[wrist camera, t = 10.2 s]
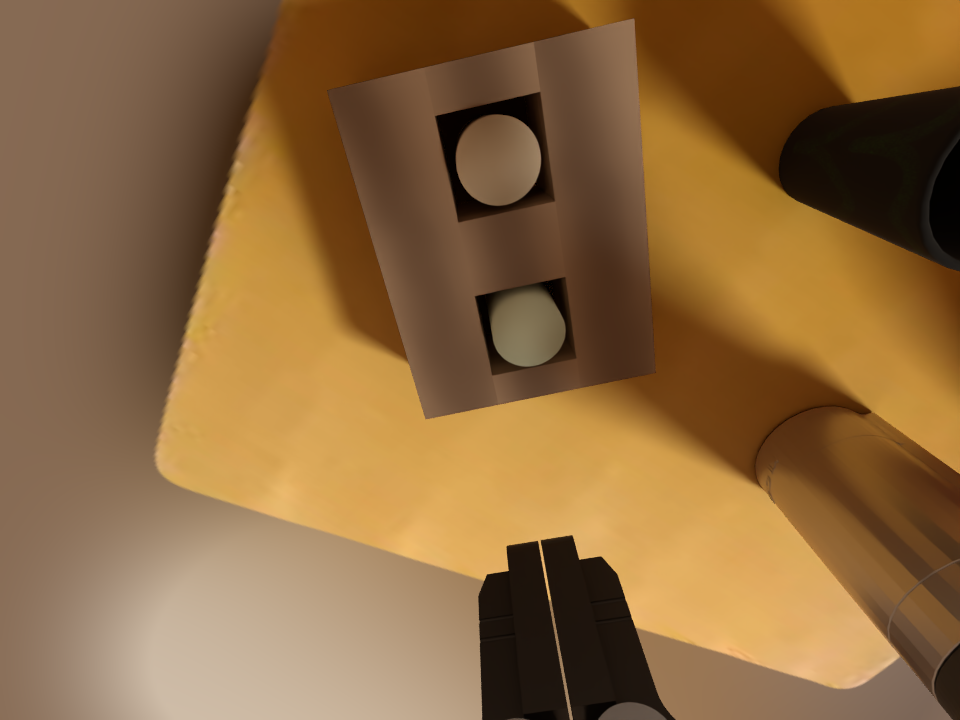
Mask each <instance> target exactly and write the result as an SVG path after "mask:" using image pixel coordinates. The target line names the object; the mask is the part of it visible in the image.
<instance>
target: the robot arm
mask: <svg viewBox="0 0 960 720" xmlns="http://www.w3.org/2000/svg"><path fill="white" fill-rule="evenodd" d="M755 470H756V477H757V479H758V482H759V484H760V485H761V487H762V488H763V489H764V490H765V491H766V493H767V494H768V495H769V497H770V499H771V500H772V501H773V502H774V504H776V505H777V506H778V508H779V509H780V510H781V511H782V512H783V514H784V515H785V516H786V517H787V519H788V520H789V521H790V523H791V524H792V525H793V526H794V527H795V529H796V530H797V531H798V532H799V534H800V535H801V536H802V537H803V538H804V540H805V541H806V542H807V543H808V544H809V546H810V547H811V548H812V549H813V551H814V552H815V553H816V554H817V555H818V557H819V558H820V559H821V560H822V562H823V563H824V564H825V565H826V566H827V568H828V569H829V570H830V571H831V572H832V574H833V575H834V576H835V577H836V579H837V580H838V581H839V582H840V583H841V585H842V586H843V587H844V588H845V590H846V591H847V592H848V593H849V594H850V596H851V597H852V598H853V599H854V601H855V602H856V603H857V604H858V605H859V607H860V608H861V609H862V610H863V611H864V613H865V614H866V615H867V616H868V618H869V619H870V620H871V621H872V622H873V624H874V625H875V626H876V627H877V629H878V630H879V631H880V632H881V633H882V635H883V636H884V637H885V638H886V639H887V641H888V642H889V643H890V644H891V646H892V647H893V648H894V649H895V650H896V651H897V653H898V654H899V655H900V656H901V658H902V659H903V660H904V661H905V662H906V664H907V665H908V666H909V667H910V668H911V670H912V671H913V672H914V673H915V675H916V676H917V677H918V678H919V679H920V681H921V682H922V683H923V684H924V686H925V687H926V688H927V689H928V690H929V692H930V693H931V694H932V695H933V696H934V698H935V699H936V700H937V701H938V702H939V703H940V705H941V706H942V707H943V708H944V710H945V711H946V712H947V713H948V714H949V716H950V717H951V718H952V719H953V720H960V474H959V473H957V472H956V471H954V470H953V469H952V468H950V467H949V466H947V465H946V464H945V463H943V462H942V461H940V460H939V459H938V458H936V457H935V456H934V455H932V454H931V453H929V452H928V451H927V450H925V449H924V448H922V447H921V446H920V445H918V444H917V443H915V442H914V441H913V440H911V439H910V438H908V437H907V436H906V435H904V434H903V433H901V432H900V431H899V430H897V429H896V428H894V427H893V426H892V425H890V424H889V423H887V422H886V421H885V420H883V419H882V418H881V417H879V416H878V415H876V414H875V413H869V414H859V413H856V412H854V411H852V410H850V409H847V408H842V407H820V408H815V409H811V410H808V411H805V412H802V413H799V414H798V415H796V416H794V417H792V418H790V419H788V420H787V421H785V422H784V423H783V424H781V425H780V426H779V427H777V428H776V429H775V430H774V431H773V432H772V433H771V434H770V435H769V436H768V438H767V439H766V441H765V442H764V443H763V445H762V446H761V448H760V451H759V453H758V456H757V459H756V465H755ZM541 545H542V550H543V556H544V562H545V567H546V573H547V579H548V584H549V590H550V596H551V601H552V607H553V612H554V618H555V623H556V629H557V634H558V639H559V645H560V651H561V656H562V661H563V667H564V673H565V678H566V683H567V689H568V694H569V700H570V705H571V711H572V716H573V720H675V719H674V718H673V717H672V716H671V715H670V713H669V712H668V711H667V710H666V708H665V707H664V706H663V704H662V702H661V700H660V698H659V696H658V693H657V691H656V688H655V685H654V682H653V679H652V676H651V673H650V670H649V667H648V664H647V661H646V658H645V655H644V652H643V649H642V646H641V643H640V640H639V637H638V634H637V631H636V628H635V625H634V622H633V620H632V618H631V614H630V611H629V608H628V605H627V602H626V600H625V596H624V593H623V590H622V587H621V584H620V581H619V578H618V575H617V573H616V572H615V571H614V570H613V569H612V568H611V567H610V566H609V565H608V563H607V562H606V561H605V560H604V559H603V558H602V557H594V558H588V559H581V560H579V558H578V554H577V550H576V546H575V542H574V539H573V536H572V535H571V536H564V537H558V538H552V539H546V540H541ZM507 558H508V568H509V571H506V572H500V573H493V574H487V576H486V578H485V581H484V584H483V586H482V588H481V591H480V593H479V596H478V598H479V620H480V624H479V628H480V657H481V658H480V659H481V690H482V720H570V719H569V713H568V708H567V702H566V697H565V690H564V685H563V680H562V673H561V668H560V662H559V656H558V651H557V645H556V640H555V634H554V628H553V623H552V617H551V611H550V606H549V600H548V594H547V589H546V583H545V578H544V572H543V566H542V561H541V555H540V550H539V544H538V541H534V542H528V543H522V544H515V545H509V546H507Z"/></svg>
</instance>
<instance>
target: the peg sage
mask: <svg viewBox="0 0 960 720" xmlns="http://www.w3.org/2000/svg"><path fill="white" fill-rule="evenodd" d="M485 296H486V303H487V308H488V314H489V320H490V325H491V331H492V336H493V342H494V345H495V347H496V350H497V351H498V353H499V354H500V355H501V356H502V357H503V358H504V359H505V360H507V361H508V362H510V363H512V364H515V365H518V366H536V365H539V364H542V363H544V362H546V361H548V360H549V359H551V358H552V357H553V356H554V355H555V354H556V353H557V352H558V351H559V349H560V348H561V346H562V344H563V342H564V339H565V332H566V330H565V323H564V320H563V317H562V315H561V314H560V312H559V310H558V308H557V306H556V304H555V302H554V300H553V299H552V297H551V295H550V293H549V291H548V289H547V287H546V286H545V284H544V282H539V283H534V284H529V285H525V286H520V287H515V288H511V289H506V290H501V291H496V292H492V293H487V294H485Z"/></svg>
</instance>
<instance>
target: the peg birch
mask: <svg viewBox="0 0 960 720" xmlns="http://www.w3.org/2000/svg"><path fill="white" fill-rule="evenodd" d="M455 155H456V167H457V172H458V176H459V179H460V181H461V183H462V185H463V187H464V188H465V189H466V191H467V192H468V193H469V194H470V195H471V196H472V197H474V198H475V199H477V200H478V201H480V202H482V203H485V204H488V205H495V206H501V205H507V204H511V203H513V202H515V201H517V200H519V199H521V198H522V197H523V196H525V195H526V194H527V193H528V192H529V191H530V189H531V188H532V187H533V185H534V183H535V182H536V180H537V177H538V174H539V171H540V166H541V153H540V148H539V144H538V141H537V139H536V137H535V135H534V134H533V132H532V131H531V130H530V129H529V127H528V126H526V125H525V124H524V123H523V122H521V121H520V120H518V119H516V118H514V117H511V116H507V115H498V114H483V115H480V116H477V117H475V118H473V119H471V120H470V121H469V122H468V123H466V125H465V126H464V127H463V128H462V130H461V131H460V133H459V135H458V138H457V141H456V147H455Z"/></svg>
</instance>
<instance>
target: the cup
mask: <svg viewBox="0 0 960 720" xmlns="http://www.w3.org/2000/svg"><path fill="white" fill-rule="evenodd" d="M779 175H780V181H781V183H782V186H783V188H784V190H785V191H786V192H787V193H788V195H789V196H790V197H792V198H794V199H795V200H797V201H799V202H801V203H803V204H805V205H808V206H810V207H812V208H814V209H817V210H819V211H821V212H823V213H826V214H828V215H830V216H832V217H835V218H837V219H839V220H841V221H844V222H846V223H848V224H850V225H853V226H855V227H857V228H859V229H862V230H864V231H866V232H868V233H871V234H873V235H875V236H877V237H880V238H882V239H884V240H886V241H888V242H891V243H893V244H895V245H897V246H900V247H902V248H904V249H906V250H909V251H911V252H913V253H915V254H918V255H920V256H922V257H924V258H927V259H929V260H931V261H933V262H936V263H938V264H940V265H942V266H945V267H947V268H950V269H953V270H957V271H960V86H959V87H953V88H946V89H940V90H934V91H927V92H921V93H915V94H908V95H902V96H896V97H889V98H883V99H877V100H870V101H864V102H858V103H851V104H845V105H839V106H833V107H829V108H825V109H821V110H819V111H817V112H815V113H813V114H811V115H810V116H809V117H807V118H806V119H805V120H804V121H802V122H801V123H800V124H799V125H798V126H797V127H796V128H795V130H794V131H793V132H792V133H791V135H790V136H789V138H788V140H787V141H786V143H785V145H784V148H783V151H782V153H781V156H780V163H779Z"/></svg>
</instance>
